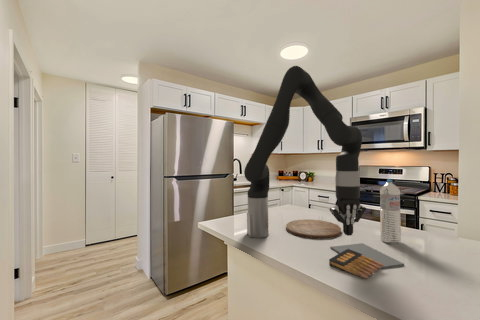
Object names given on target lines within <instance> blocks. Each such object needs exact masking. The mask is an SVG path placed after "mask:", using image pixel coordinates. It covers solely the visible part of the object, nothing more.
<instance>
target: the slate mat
mask: <svg viewBox="0 0 480 320" xmlns="http://www.w3.org/2000/svg"><path fill="white" fill-rule="evenodd" d="M347 249H350V250H353V251H355V252H358V253H360V254H362V255H363V256H366V257H368V258H371V259H372V260H375V261H377V262H379V263H381V264H383V265H384V266H383V267H382V266H379V267H381V269H380V270H383V269H390V268H397V267H404V266H405V263H403V262H401V261H399V260H397V259H396V258H394V257H391V256H390V255H387V254H385V253H384V252H382V251H379V250H377V249H375V248H373V247H371V246H369V245H367V244H365V243H364V242H361V243H360V242H359V243H351V244H342V245H334V246H330V250H332V251H335V253H337V254H339V253H341V252H343V251H345V250H347ZM376 269H377V268H376ZM377 270H378V269H377Z"/></svg>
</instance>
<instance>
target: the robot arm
mask: <svg viewBox="0 0 480 320" xmlns="http://www.w3.org/2000/svg"><path fill="white" fill-rule="evenodd" d="M314 81H315V80H314V79H313V78H312V77H311V74H310V73H308V72H307V71H306V70H305V69H303V68H302V67H301V66H298V65H293V66H291V67H290V68H288V69H287V71H286V72H285V74H284V75H283V78H282V81H281V84H280V86H279V90H278V93H277V97H276V99H275V101H274V104H273V106H272V109H271V111H270V113H269V116H268V118H267V120H266V122H265V125H264V127H263V130H262V132H261V135H260V136H259V139H258V141H257V143H256V146H255V149H254V150H253V153H252V154H251V156H250V158H249V160H248V162H247V163H246V165H245V167H244V170H243V171H244V173H243V176H244V177H245V180H246V181H247V182H250V187H249V189H248V190H247V213H246V231H247V232H246V233H247V235H248V236H249V237H250V238H256V239H257V238H258V239H260V238H266V237H268V236H269V235H270V234H269V231H270V230H269V192H270V191H269V190H270V169H269V166H268V165H267V162H268V160H269V158H270V157H271V155H272V153H273V152H274V151H275V150H276V148H277V147H278V146H279V145H280V143H281V142H282V140H283V138H284V137H285V134H286V132H287V131H288V127H289V126H290V117H291V116H290V115H291V112H290V111H291V104H292V101H293V98H294V97H295V94H297V95H298V96H299V97H300V98H302V99H303V100H304V101H305V102H306V103H308V105H309V107H310V109H311V110H312V113H313V115H314V116H315V117H316V118H317V120H319V122H320V123H321V124H322V125H323V127H324V128H325V131H326V133H327V135H328V137H329V139H330V141H332V143H334V144H335V146H339V147H341V151H340V153H339V154H337V155H336V157H335V177H334V178H335V179H334V181H335V182H334V183H335V197H336V200H335V205H334V206H333V207H329V211H330V213H331V214H332V215H333V217H334V218H335V220H336V221H337V222H339V223H341V224H342V232H343V233H344V235H345V236H353V234H354V225H355V223H359V221H360V220H361V218H362V216H363V215H364V214H365V212H366V211H367V207H365V206H362V205H361V201H360V198H361V183H360V182H361V181H360V180H361V179H360V171H359V170H360V169H359V166H360V165H359V157H360V154H361V149H362V144H363V136H362V135H363V134H362V131H361V130H360V129H359V128H358V127H357V126H354V125H348V124H346V123H345V122H344V121H343V119H344V117H343V115H342V113H341V112H340V111H339V109H338V108H336V106H334V104H333V103H332V102H331V101H330V100H329V99H328V98H327V96H325V95H324V94H323V93H322V92H321V91H320V89H319V88H318V86H317V85H316V83H315V82H314Z"/></svg>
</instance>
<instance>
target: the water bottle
mask: <svg viewBox="0 0 480 320" xmlns="http://www.w3.org/2000/svg"><path fill="white" fill-rule="evenodd" d="M379 193H380V194H379V195H380V198H379V199H380V200H379V201H380V203H379V204H380V205H379V206H380V210H379V211H380V214H379V215H380V216H379V217H380V219H379V220H380V240H381V241H382V242H383V243H385V244H390V245H399V244H400V243H401V240H402V239H401V238H402V231H401V230H402V229H401V227H402V226H401V225H402V224H401V223H402V222H401V196H400V195H401V190H400V188H399V187H398V186H396V184H394V183H393V179H386V183H385V184H384V185H382V186H381V187H380V188H379Z"/></svg>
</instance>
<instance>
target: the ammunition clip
mask: <svg viewBox="0 0 480 320" xmlns="http://www.w3.org/2000/svg"><path fill="white" fill-rule="evenodd" d="M328 260H329V261H328V262H329V264H328V265H329V266H331V267H333V268H336V269H338V270H341V271H342V272H347V273H350V274H352V275H355V276H358V277H361V278H364V279H369V278H370V277H369V276H372V274H376V272H378V271H379V270H382V269H381V267H379V266H382V267H383V266H384V265H383V264H381V263H379V262H377V261H375V260H372V259H371V258H368V257H366V256H363V255H362V254H360V253H358V252H355V251H353V250H350V249H347V250H345V251H343V252H341V253H337V254H336V255H334V256H332V257H331V258H329V259H328ZM376 268H377V269H376Z"/></svg>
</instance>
